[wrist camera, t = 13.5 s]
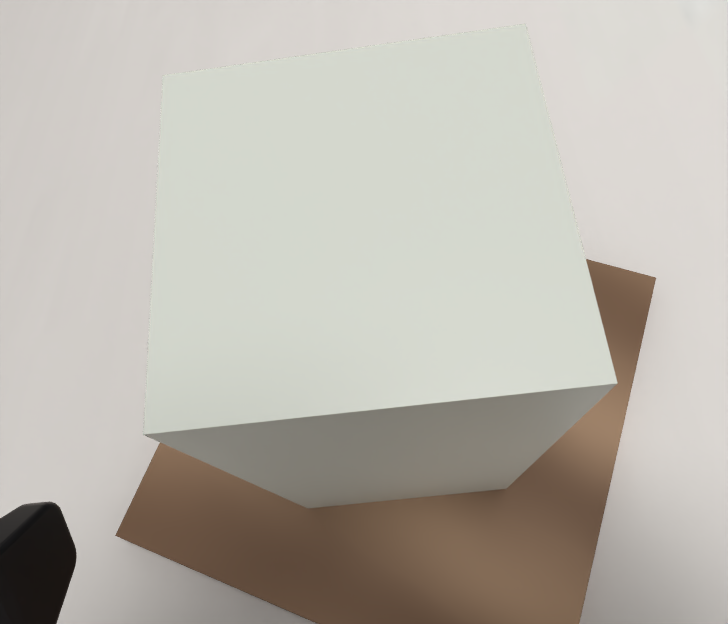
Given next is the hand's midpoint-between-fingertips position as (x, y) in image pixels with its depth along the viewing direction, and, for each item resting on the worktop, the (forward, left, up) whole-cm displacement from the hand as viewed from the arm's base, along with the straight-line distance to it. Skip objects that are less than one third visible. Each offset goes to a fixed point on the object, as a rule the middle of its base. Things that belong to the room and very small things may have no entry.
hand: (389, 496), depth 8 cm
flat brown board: (+4, +2, -12) cm, 13 cm away
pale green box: (+4, +2, -11) cm, 12 cm away
